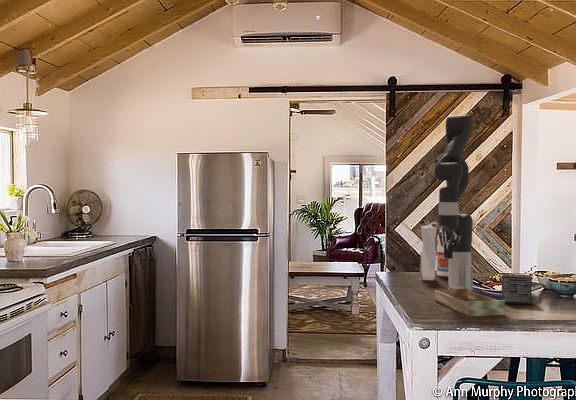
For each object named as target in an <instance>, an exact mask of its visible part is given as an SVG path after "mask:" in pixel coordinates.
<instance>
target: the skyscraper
mask: <svg viewBox="0 0 576 400" xmlns="http://www.w3.org/2000/svg"><path fill="white" fill-rule="evenodd" d="M433 224H436V227H433V226H432V225H433ZM438 226H439V225H438V222H431V223H430V224H429V225H421V226H420V230H421V241H422V249H421V253H420V261H419V278H418V279H419V281H435V278H436V277H435V275H436V269H437V249H436V246H435V244H436V239H437V229H438Z"/></svg>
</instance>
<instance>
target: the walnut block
mask: <svg viewBox="0 0 576 400" xmlns="http://www.w3.org/2000/svg"><path fill="white" fill-rule="evenodd" d="M448 292H449V293H448V295H449V296H451V297H454V298H456V299H459V300H461V301H465V302H468V288H465V287H462V286H455V287H449V291H448Z"/></svg>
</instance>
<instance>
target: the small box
mask: <svg viewBox="0 0 576 400" xmlns="http://www.w3.org/2000/svg"><path fill="white" fill-rule="evenodd" d="M501 300H505V304H513V305H514V304H517V305H519V304H520V305H532V304H533V303H532V277H531V275H529V274H528V275H527V274H526V275H523V274H501Z"/></svg>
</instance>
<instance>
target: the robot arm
mask: <svg viewBox="0 0 576 400" xmlns="http://www.w3.org/2000/svg"><path fill="white" fill-rule="evenodd" d="M473 132H474V118H473V116H472V115H470V114H461V115H460V114H459V115H458V114H456V115H449V116H447V117H446V120H445V140H446V147H445V150H444V153H443V156H442V157H441V158H440V159H439V161H438V162H437V163H436V164H435V167H434V171H433V172H434V174H433V175H434V177H435V178H436V180H437V181H442V182H443V181H444V182H445V181H446V183H445V184H446V186H443V187H440V188H439V195H438V197H439V202H438V216H437V217H438V221H437V223H438V225H437V226H440V227H441V226H442V230H441V232H440V231H438V233H437V235H439V239H440V243H441V246H443V248H444V258H447V259H449V272H448V277H447V278H448V280H447V281H448V284H447V285H448V286H447V287H448V288H447V290H448V292H449V287H455V286H462V287H465V288H468V290H470V291H473V292H474V269H472V244H473V229H474V227H473V226H474V220H473V218H472V215H471V214H469V213H468V214H467V213H459V200H460V198H461V197H462V196H463V194H464V192H465V191H466V189H467V187H468V185H469V182H470V168H469V165H468V162H466V160H465V158H464V157H463V153H464V151H465V148H466V146H467V145H468V142H470V139H471V137H472V134H473ZM459 238H460V239H459Z"/></svg>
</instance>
